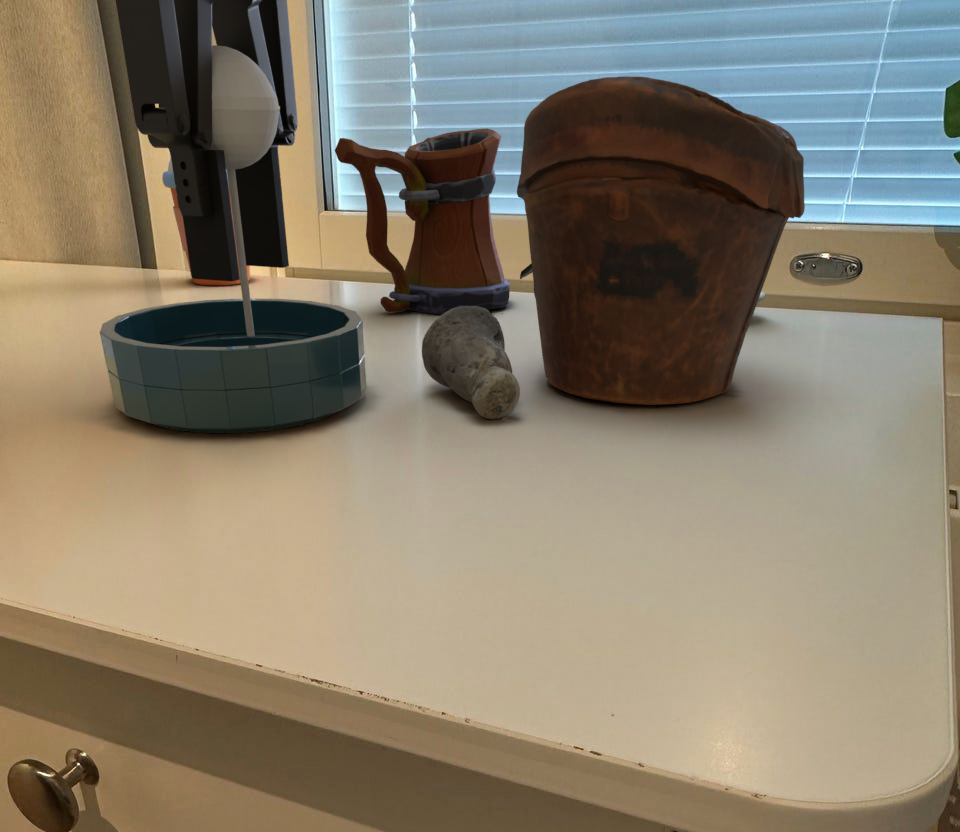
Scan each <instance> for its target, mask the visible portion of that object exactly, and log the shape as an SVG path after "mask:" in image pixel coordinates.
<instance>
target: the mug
mask: <svg viewBox="0 0 960 832" xmlns="http://www.w3.org/2000/svg"><path fill="white" fill-rule="evenodd" d="M501 140H502V135H501V134H500V133H498V131H496V130H494V129H492V128H491V129H490V128H475V129H470V130H457V131H451V132H445V133H442V134H439V135H435V136H432V137H427V138H425V139H424V140H423V141H421V142H417V143H414V144H412V145H409V146H408V148H407V149H406V151H405V152H404V155H402V154H400V153H398V152H396V151H393V150H390V149H379V148H372V147H368V146H365V145H362V144H359V142H358V143H357V142H356V141H354V140H353V139H350V138H345V137H342V138H339V140H338V142H337V144H336V146H335V149H334V152H335V155H336V158H337V160H338V161H339V162H340V163H341V164H346V165H351V166H353V168H355V169H356V171H358V173H359V176H360V178H361V183H362V186H363V190H364V195H365V202H366V226H365V227H366V228H365V238H366V239H365V240H366V243H367V247H368V248H367V249H368V253H369V255H370V256H371V257H372V258H373V259H374V260H375V261H376V263H378V264H379V265H381V267H383V268H384V269H385V270H387V271H388V272H389V273H390V274H391V277H392V280H393V283H394V291H393V290H392V291H390V292H389V293H388V294H389V295H388V296H382V297H381V298H380V305H381V307H382V308H383V310H384V311H385V312H387V313H400V312H403V311H406V310H408V311H409V310H410V311H412V312H417V313H418V312H419V313H427V314H434V315H442V314H444V313H445V312H447V311H449V310H450V309H453V308H456V307H460V306H478V307H483V308H485V309H487V310H488V311H489V310H494V309H495V310H496V309H501V308H506V307H507V305H508V304H509V300H510V287H511V286H510V285H511V284H510V282H509V280H507V279H506V278H505V274H504V271H503V270H504V269H503V267H502V263H501V260H500V256H499V253H498V249H497V245H496V240H495V237H494V229H493V222H492V215H491V203H490V195H491V194H492V192H493V190H494V187H495V185H496V180H497V176H496V172H495V168H494V167H495V162H496V158H497V154H498V151H499V147H500V143H501ZM377 167H378V168H386V169H388V170H392V171H394V172H396V173H398V174H400V175H401V178H402V181H403V183H404V187H405V188H404V187H403V188H401V189H400V191H399V192H398V198H399V199H400V200H403V201H404V210H405V215H406V216H407V217H408V218H409V219H410V220H411V221H413V222H414V231H413V239H412V243H411V248H410V251H409V255H408V259H407V262H406V265H405V268H404V266H403V265H402V263H401V262H400V261H399V259H398V258H397V257H396V256H395V254H393V253H392V252H391V251H390V248H389V245H388V227H389V226H388V225H389V224H388V223H389V222H388V221H389V220H388V207H387V201H386V197H385V194H384V191H383V188H382V186H381V183H380V181H379V179H378V177H377V173H376V169H377Z"/></svg>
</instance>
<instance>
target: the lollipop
mask: <svg viewBox="0 0 960 832" xmlns="http://www.w3.org/2000/svg"><path fill="white" fill-rule="evenodd" d="M279 109H280V106H279V105H278V100H277V96H276V94H275V92H274V90H273V88H272V86H271V84H270V82H269V80H268V79H267V77H266V75H265V74H264V73H263V71H262V70H261V69H260V68H259V66H258V65H257V64H256V63H255V62H253V61H252V60H251V59H250V58H249V57H248V56H246V55H244V54H243V53H241V52H239V51H237V50H235V49H232V48H229V47H226V46H217V44H215V45H214V44H213V45H212V144H211V147H210V148H209V149H206V150H224V156H225V164H226V169H227V176H228V184H229V192H230V200H231V208H232V217H233V225H234V233H235V241H236V249H237V258H238V266H239V274H240V282H241V283H240V289H241V290H240V291H241V297H242V298H241V299H243V307H244V315H245V323H246V331H247V336H255V335H254V326H253V318H252V309H251V301H250V298H251V292H250V285H249V284H250V283H249V281H248V275H247V267H246V258H245V250H244V241H243V233H242V225H241V216H240V208H239V199H238V191H237V182H236V174H235V169H241V168H244V167H247V166H250V165H252V164H254V163H255V162H257V161H258V160H260V159H261V158H262V157H263V156H264V155H265V154H266V153H267V151H268V149H269V148H270V146H271V145H272V143H273V140H274V138H275V135H276V131H277V125H278V118H279ZM189 118H190V115H189ZM190 119H191V118H190Z"/></svg>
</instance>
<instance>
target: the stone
mask: <svg viewBox="0 0 960 832" xmlns="http://www.w3.org/2000/svg"><path fill="white" fill-rule="evenodd" d="M505 350H506V344H505V336H504V331H503V329H502V326H501V324H500V322H499V321H498V318H497V317H495V316H494V315H493V314H492V312H491V311H490V310H489V309H488V310H487V309H485V308H483V307H478V306H460V307H456V308H453V309H450V310H449V311H447V312H445V313H444V314H440V315H439V316H438V317H437V318H436V319H434V321H433V322H432V323H431V325H430V326H429V328H428V329H427V331H426V333H425V335H424V337H423V338H422V343H421V356H422V362H423V366H424V368H425V371H426V373H427V374H428V376H429V377H430V378H431V379H432V380H433V381H435V382H437V384H439V385H442V386H444V387H446V388H449V389H451V390H452V392H454V393H455V394H457V396H459V397H460V398H462V399H463V400H465V401H467V402H469V403H471V404H472V406H473V407H474V409H475V411H476V412H477V414H478V415H479V416H481V417H482V418H485V419H488V420H497V419H503V418H505V417H507V416H508V415H509V414H510V413H511V412H513V410H514V408H515V407H516V406H517V405H518V402H519V399H520V395H521V388H520V385H519V382H518V380H517V377H516V376H515V375H514V374H513V366H512V364H511V361H510V360H511V359H509V356H508V354H507V352H506V351H505Z"/></svg>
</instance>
